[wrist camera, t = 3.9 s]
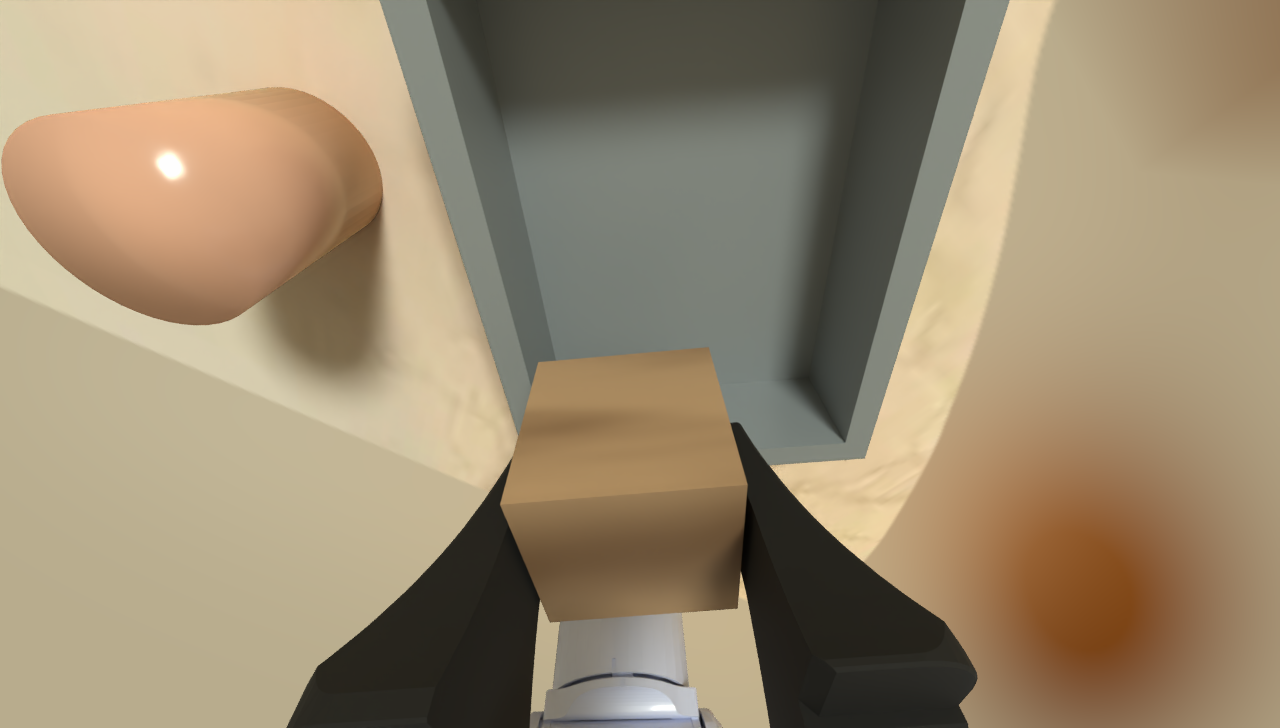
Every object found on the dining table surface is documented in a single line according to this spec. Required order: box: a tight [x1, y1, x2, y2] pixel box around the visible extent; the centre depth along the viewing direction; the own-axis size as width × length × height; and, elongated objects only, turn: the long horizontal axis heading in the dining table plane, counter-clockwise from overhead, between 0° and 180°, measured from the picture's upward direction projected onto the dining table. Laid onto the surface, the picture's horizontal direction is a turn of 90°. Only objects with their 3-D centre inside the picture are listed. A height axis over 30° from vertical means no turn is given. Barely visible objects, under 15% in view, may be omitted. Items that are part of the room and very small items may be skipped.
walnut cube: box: [500, 347, 748, 622], centre depth 13 cm, size 5×5×5 cm
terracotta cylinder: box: [2, 87, 383, 325], centre depth 13 cm, size 5×5×7 cm
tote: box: [380, 0, 1010, 465], centre depth 16 cm, size 18×14×5 cm
